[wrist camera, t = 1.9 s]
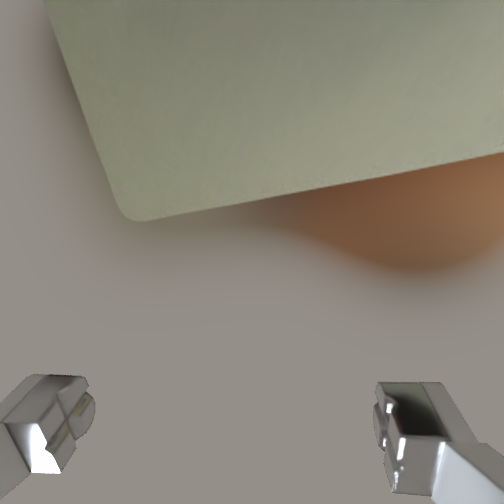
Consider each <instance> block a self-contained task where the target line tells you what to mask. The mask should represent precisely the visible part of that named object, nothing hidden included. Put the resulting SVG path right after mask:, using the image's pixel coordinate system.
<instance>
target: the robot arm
mask: <svg viewBox="0 0 504 504" xmlns="http://www.w3.org/2000/svg"><path fill="white" fill-rule="evenodd" d="M88 387H89V385H88V383H87V380H86V378H85V377H82V376H72V375H70V376H69V375H52V374H49V375H44V374H33V375H30V376H28V377H26V378H25V379H24V380H23V381H22V382H21V383H20V384H19V385H18V386H17V387H16V388H15V389H14V390H13V391H12V392H11V393H10V394H9V395H8V396H7V397H6V398H5V399H4V400H3V401H2V402H1V403H0V500H1V499H2V498H3V497H4V496H5V495H7V494H8V493H9V492H10V491H11V490H13V489H14V488H15V487H16V486H17V485H18V484H19V483H21V482H22V481H23V480H24V479H25V478H27V477H28V476H29V475H30V472H37V473H61V472H62V470H63V469H64V467H65V466H66V464H67V462H68V461H69V459H70V458H71V456H72V455H73V453H74V451H75V450H76V440H77V439H79V438H80V437H81V436H83V435H84V434H85V433H87V431H88V429H89V428H90V426H91V424H92V422H93V419H94V415H95V402H94V399H93V397H92V396H91V395H90V394H88V393H87V392H86V391H87V388H88ZM375 393H376V397H377V400H378V402H377V403H376V404H375V405H374V410H373V419H374V420H373V421H374V429H375V435H376V439H377V442H378V446H379V447H380V448H381V449H382V450H383V451H384V452H385V457H384V467H385V470H386V473H387V476H388V480H389V483H390V487H391V490H392V493H398V494H409V495H420V496H431V497H432V500H433V501H434V502H435V503H436V504H504V456H503V455H501V454H500V453H499V452H497V451H496V450H495V449H493V448H492V447H491V446H489V445H488V444H487V443H479V442H478V440H477V439H476V437H475V435H474V434H473V432H472V430H471V429H470V427H469V425H468V424H467V422H466V421H465V419H464V417H463V416H462V414H461V412H460V411H459V409H458V407H457V406H456V404H455V403H454V401H453V399H452V398H451V396H450V395H449V393H448V391H447V390H446V388H445V386H444V385H443V384H442V383H440V382H377V385H376V391H375Z"/></svg>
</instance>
